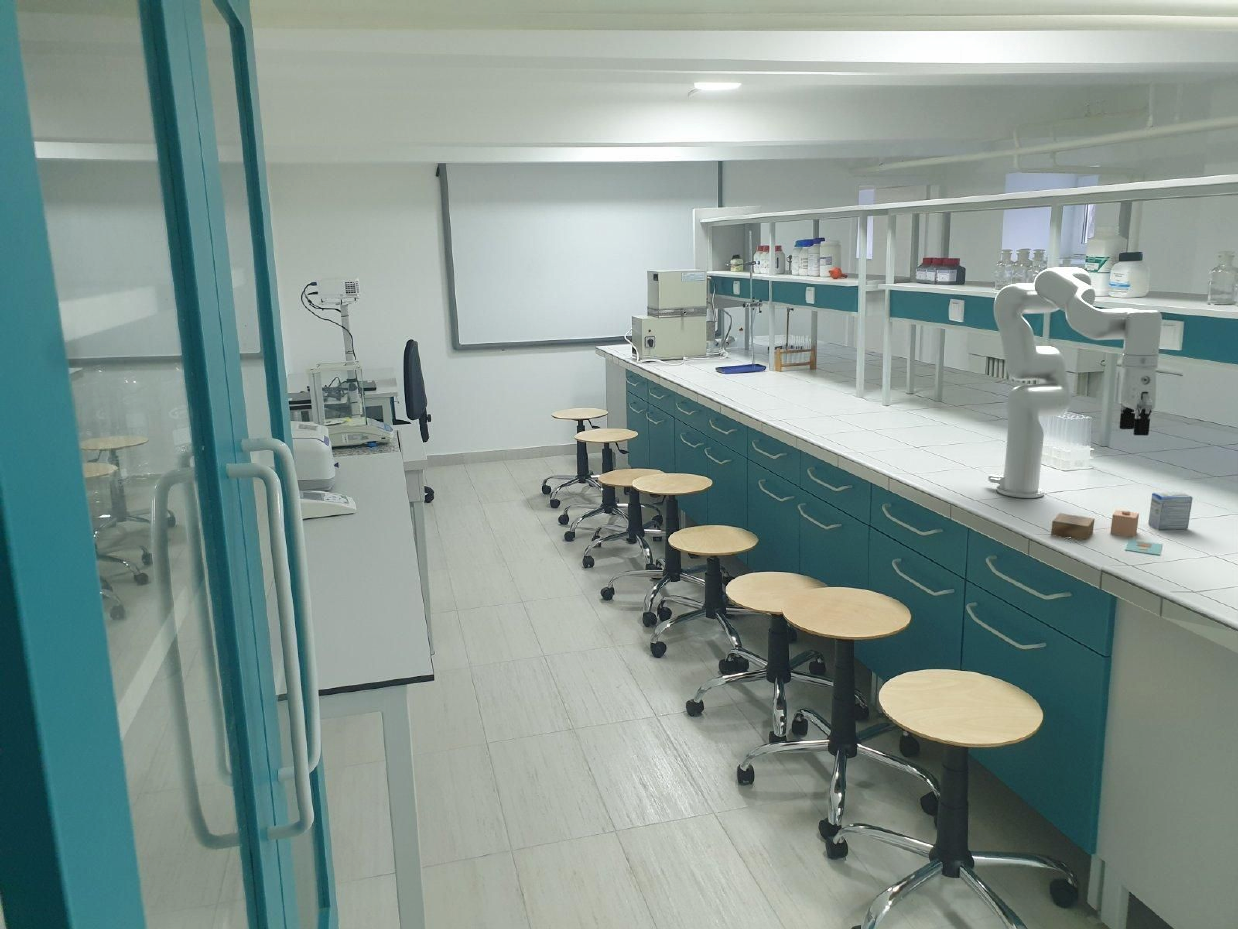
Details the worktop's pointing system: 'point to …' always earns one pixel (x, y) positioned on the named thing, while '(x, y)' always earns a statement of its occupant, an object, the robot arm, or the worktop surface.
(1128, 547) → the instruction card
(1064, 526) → the walnut block
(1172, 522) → the medicine box
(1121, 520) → the painted brick
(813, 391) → the worktop surface
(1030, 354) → the robot arm
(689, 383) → the worktop surface
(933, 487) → the worktop surface
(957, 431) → the worktop surface
